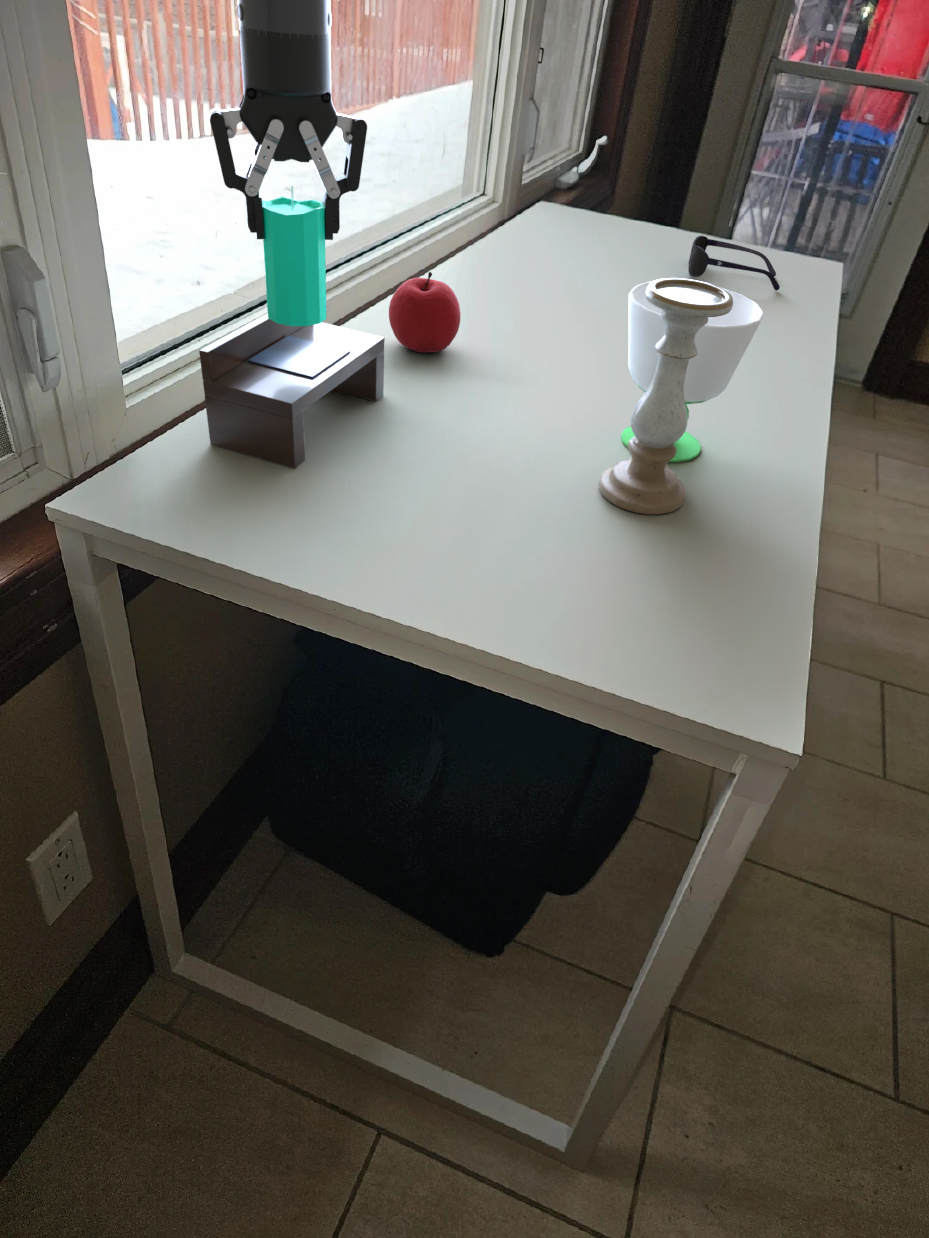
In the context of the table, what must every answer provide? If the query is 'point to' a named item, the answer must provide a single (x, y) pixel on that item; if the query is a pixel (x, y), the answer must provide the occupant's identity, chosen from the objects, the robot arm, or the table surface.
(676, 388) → the candle holder
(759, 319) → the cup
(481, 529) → the table surface
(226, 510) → the table surface
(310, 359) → the shelf
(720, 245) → the sunglasses
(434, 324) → the apple
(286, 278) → the candle
